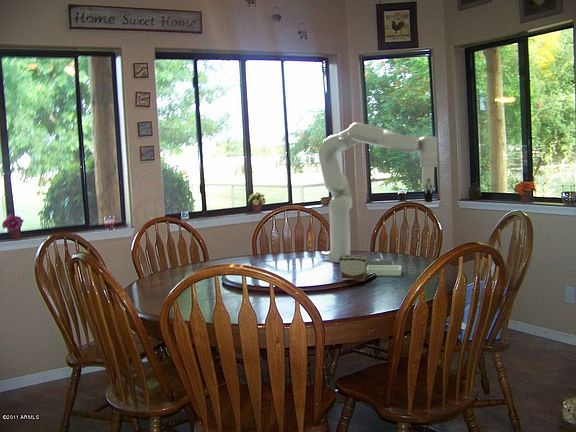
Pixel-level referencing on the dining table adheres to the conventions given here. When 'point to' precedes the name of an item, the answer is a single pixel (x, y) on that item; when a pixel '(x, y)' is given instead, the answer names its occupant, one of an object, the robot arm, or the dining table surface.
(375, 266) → the sage trough
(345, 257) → the food container
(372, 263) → the gray cylinder
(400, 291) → the dining table surface
